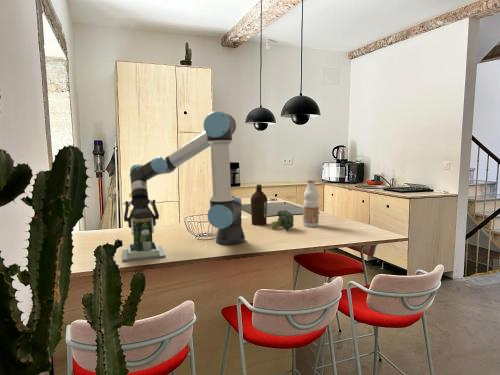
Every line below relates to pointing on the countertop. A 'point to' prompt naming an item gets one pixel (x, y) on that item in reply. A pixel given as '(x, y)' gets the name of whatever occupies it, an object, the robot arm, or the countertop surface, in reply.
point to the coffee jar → (142, 230)
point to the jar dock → (142, 253)
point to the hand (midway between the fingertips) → (142, 232)
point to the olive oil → (259, 207)
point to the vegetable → (283, 220)
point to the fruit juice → (311, 205)
